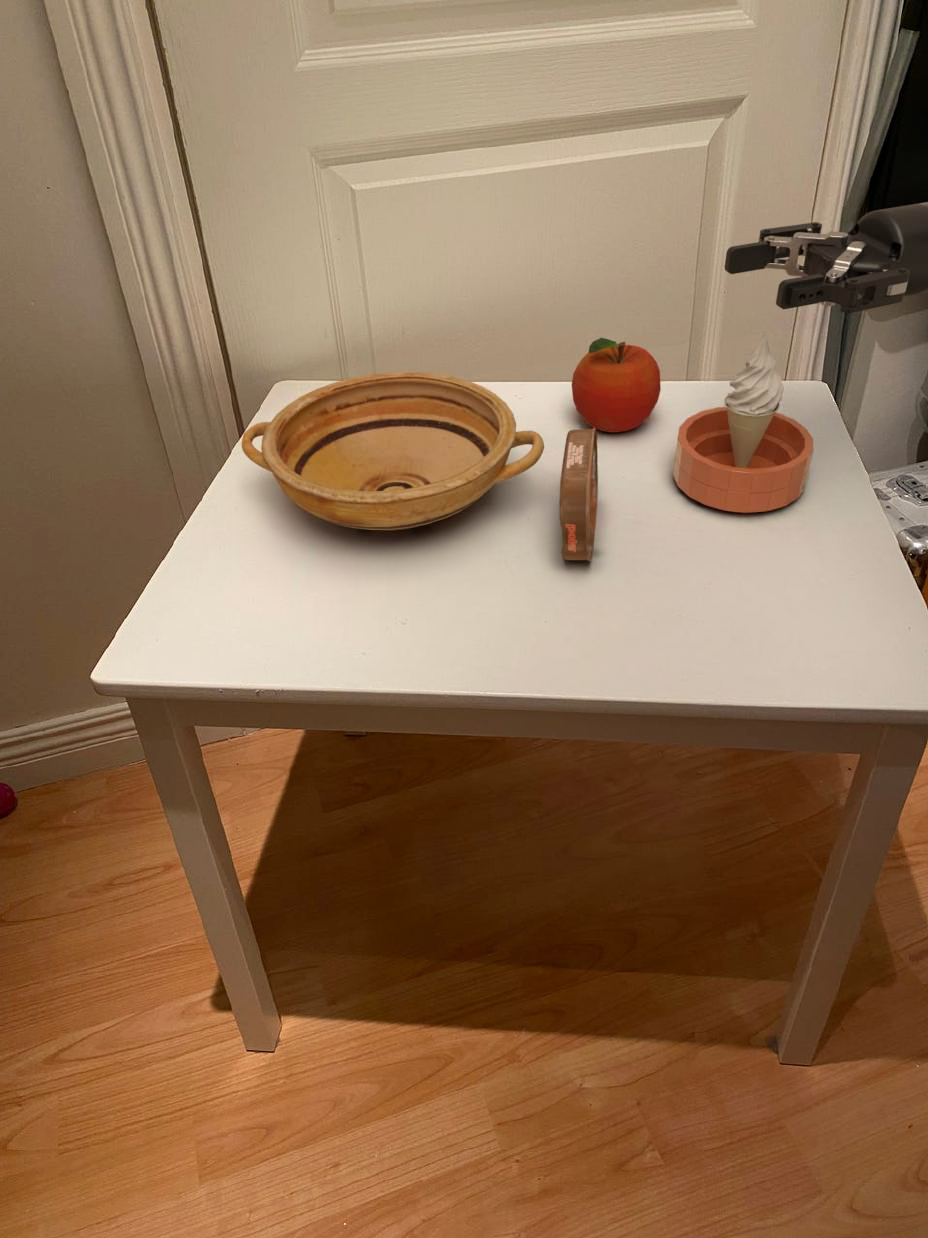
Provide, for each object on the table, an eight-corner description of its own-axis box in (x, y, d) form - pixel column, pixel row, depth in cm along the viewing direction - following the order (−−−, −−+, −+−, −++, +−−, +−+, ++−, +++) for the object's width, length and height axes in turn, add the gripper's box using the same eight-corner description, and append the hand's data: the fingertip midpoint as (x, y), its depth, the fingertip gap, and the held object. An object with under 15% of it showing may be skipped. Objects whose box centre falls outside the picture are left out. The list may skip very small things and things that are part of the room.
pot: (820, 468, 95) (830, 424, 91) (778, 531, 87) (788, 486, 84) (701, 438, 100) (707, 395, 97) (652, 495, 92) (657, 451, 89)
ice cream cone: (771, 489, 91) (799, 343, 81) (718, 490, 91) (740, 345, 82) (759, 462, 95) (786, 319, 85) (709, 463, 95) (729, 321, 85)
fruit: (674, 431, 101) (684, 344, 95) (596, 452, 99) (601, 364, 92) (630, 394, 108) (636, 310, 102) (555, 413, 106) (557, 328, 99)
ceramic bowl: (215, 563, 87) (195, 491, 82) (290, 432, 105) (277, 366, 100) (531, 581, 83) (531, 506, 78) (553, 442, 101) (554, 373, 96)
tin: (590, 580, 83) (594, 500, 77) (554, 578, 83) (556, 498, 78) (599, 487, 94) (603, 411, 88) (567, 485, 94) (569, 410, 89)
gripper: (876, 182, 85) (716, 207, 82) (986, 230, 75) (808, 260, 72) (858, 265, 90) (706, 291, 87) (959, 320, 80) (790, 353, 77)
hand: (752, 277), depth 79 cm, fingers open, 8 cm apart
